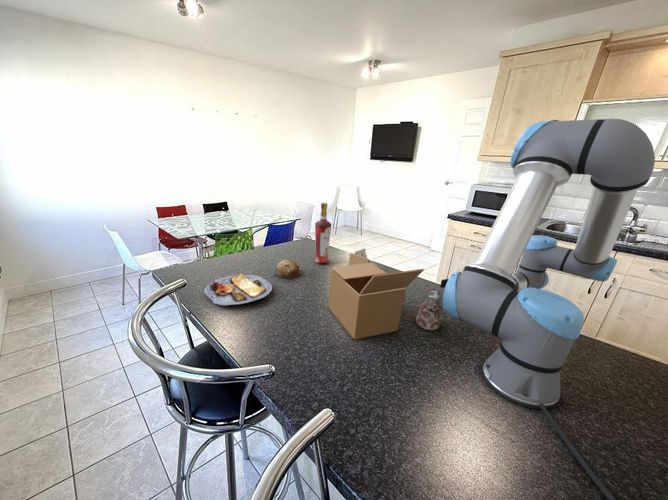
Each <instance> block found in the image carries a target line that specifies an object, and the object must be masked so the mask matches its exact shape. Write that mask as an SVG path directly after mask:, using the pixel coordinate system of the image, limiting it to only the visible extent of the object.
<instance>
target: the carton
mask: <svg viewBox="0 0 668 500" xmlns="http://www.w3.org/2000/svg"><path fill="white" fill-rule="evenodd" d="M381 274H388V273H387V272H386V271H384V270H383V269H381V268H380V267H379V266H377V265H376V264H374V263H373V262H371V263H362V264H354V265H349V264H348V265H338V266H331V267H330V279H329V295H328V310H330V311H331V313H332V314H333V315H334V316H335V318H336V319H337V320H338V321H339V323H340V324H341V325H342V326H343V328H344V329H345V330H346V331H347V333H348V334H349V335H350V337H352V338H353V340H359V339H365V338H370V337H373V336H374V337H375V336H379V335H385V334H389V333H393V332H397V331H399V328H400V327H399V326H400V321H401V316H402V311H403V305H404V301H405V295H406V287H405V288H399V289H392V290H386V291H379V292H373V293H366V294H360V292H361V291H362V290H363V288H364V287H365V286H366V285H367V283H368V282H369V281H370V279H371V278H372V277H373V276H374V275H381Z"/></svg>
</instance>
